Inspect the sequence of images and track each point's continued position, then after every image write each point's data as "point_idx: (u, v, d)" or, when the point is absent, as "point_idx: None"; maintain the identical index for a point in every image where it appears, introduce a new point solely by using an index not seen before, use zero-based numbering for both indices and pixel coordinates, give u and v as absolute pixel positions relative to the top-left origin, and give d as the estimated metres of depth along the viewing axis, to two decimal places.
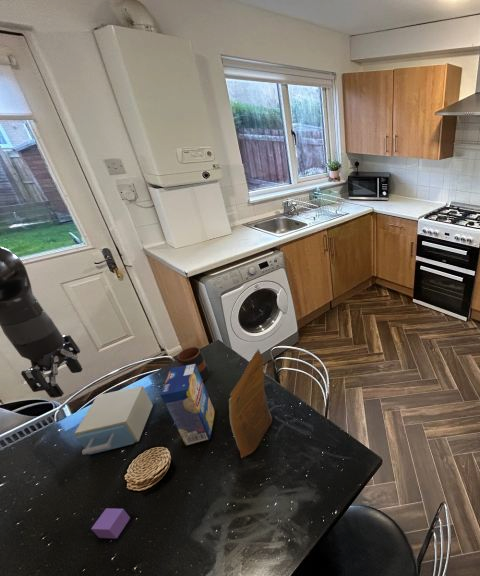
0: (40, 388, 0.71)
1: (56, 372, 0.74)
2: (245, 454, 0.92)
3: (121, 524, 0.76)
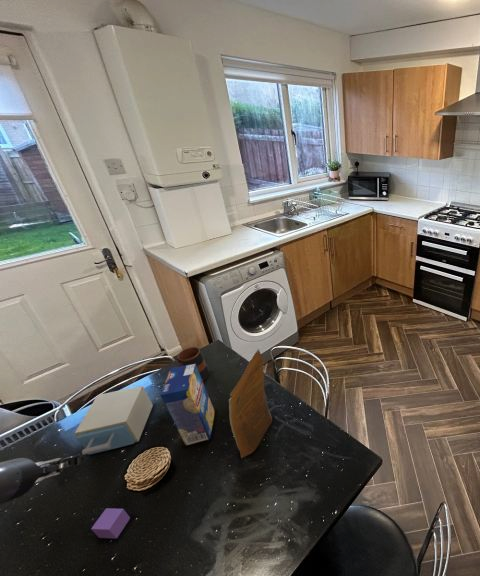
0: None
1: None
2: (245, 454, 0.92)
3: (121, 524, 0.76)
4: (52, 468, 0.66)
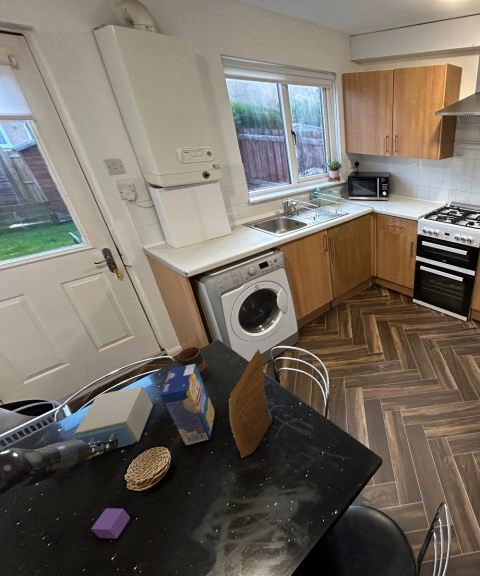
0: None
1: None
2: (245, 454, 0.92)
3: (121, 524, 0.76)
4: (100, 448, 0.81)
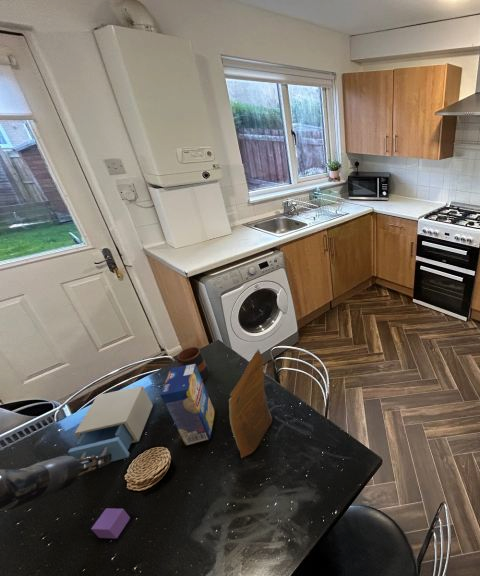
0: None
1: None
2: (245, 454, 0.92)
3: (121, 524, 0.76)
4: (92, 464, 0.77)
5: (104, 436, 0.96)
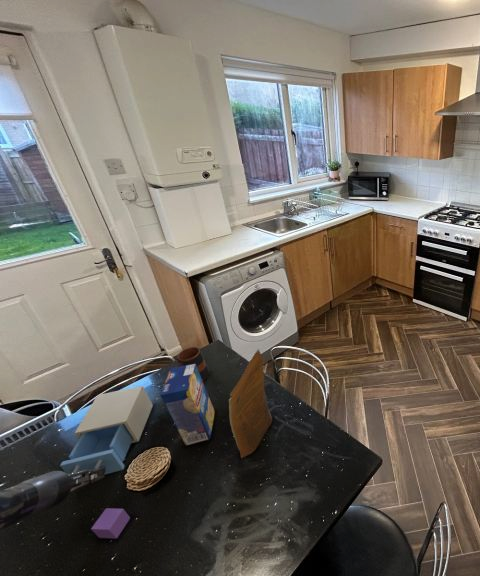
0: None
1: None
2: (245, 454, 0.92)
3: (121, 524, 0.76)
4: (84, 479, 0.74)
5: (98, 447, 0.93)
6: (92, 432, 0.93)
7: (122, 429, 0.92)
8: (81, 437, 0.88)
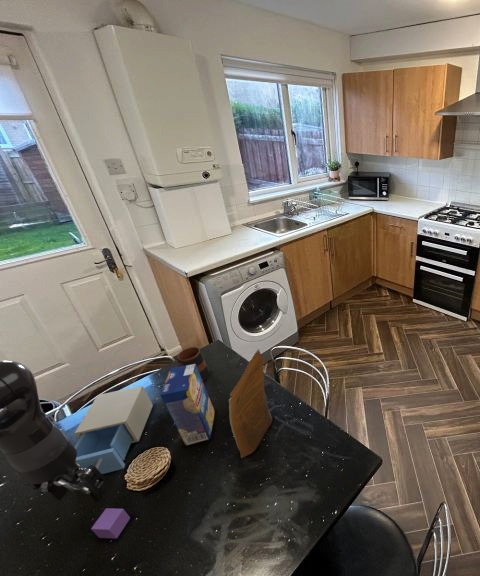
0: None
1: (44, 488, 0.63)
2: (245, 454, 0.92)
3: (121, 524, 0.76)
4: (80, 471, 0.63)
5: (99, 446, 0.93)
6: (93, 431, 0.93)
7: (123, 429, 0.92)
8: (82, 436, 0.89)
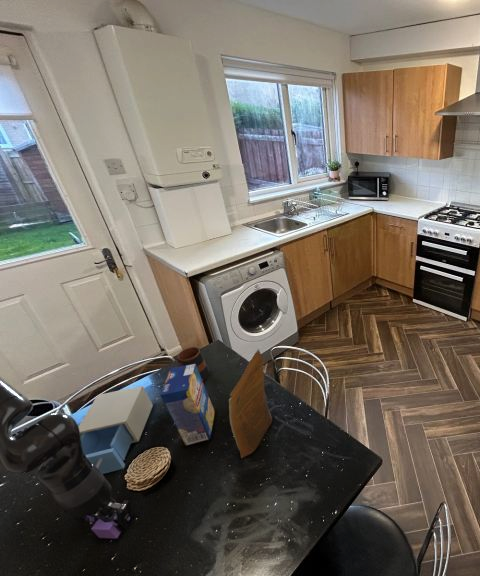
0: None
1: (88, 521, 0.72)
2: (245, 454, 0.92)
3: None
4: (116, 505, 0.71)
5: (99, 446, 0.93)
6: (93, 431, 0.93)
7: (123, 429, 0.92)
8: (82, 436, 0.89)
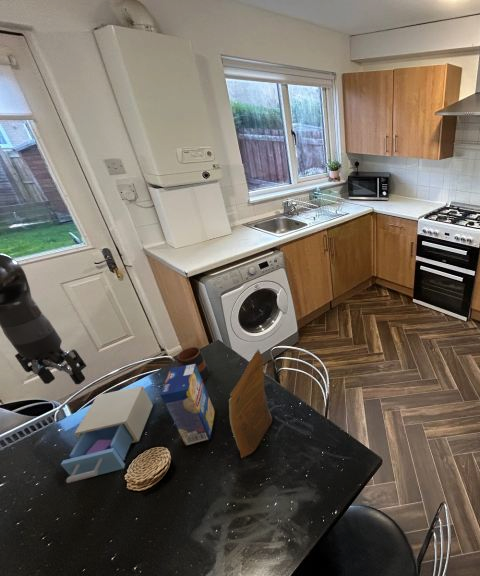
0: None
1: (35, 368, 0.79)
2: (245, 454, 0.92)
3: None
4: (64, 353, 0.78)
5: None
6: (93, 431, 0.93)
7: (123, 429, 0.92)
8: (82, 436, 0.89)
